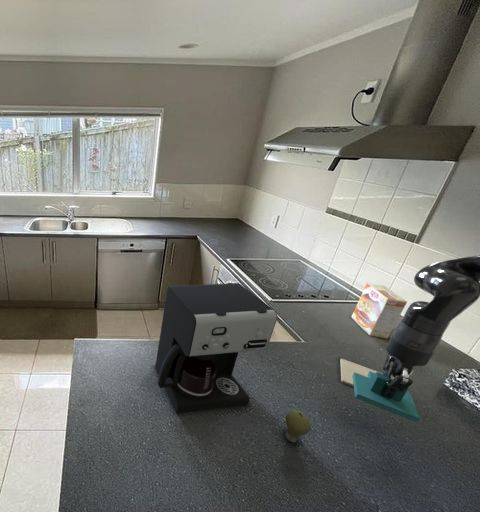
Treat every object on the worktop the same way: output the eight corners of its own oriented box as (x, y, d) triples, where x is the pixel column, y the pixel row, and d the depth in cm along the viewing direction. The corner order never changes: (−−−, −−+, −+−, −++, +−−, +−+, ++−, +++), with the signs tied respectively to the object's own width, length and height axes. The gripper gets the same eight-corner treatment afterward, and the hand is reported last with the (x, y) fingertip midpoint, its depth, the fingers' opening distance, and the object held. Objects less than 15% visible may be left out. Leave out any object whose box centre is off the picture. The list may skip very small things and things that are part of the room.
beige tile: (389, 379, 101) (390, 376, 100) (395, 405, 90) (397, 402, 90) (339, 361, 108) (341, 358, 108) (340, 383, 98) (342, 380, 98)
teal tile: (405, 388, 81) (415, 371, 78) (417, 422, 71) (429, 404, 68) (351, 368, 87) (359, 352, 85) (355, 397, 77) (364, 380, 75)
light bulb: (274, 434, 80) (284, 409, 76) (286, 427, 82) (297, 403, 78) (293, 453, 75) (305, 427, 71) (306, 445, 77) (318, 420, 73)
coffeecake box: (349, 317, 137) (366, 282, 130) (367, 320, 135) (384, 285, 128) (368, 336, 124) (387, 298, 116) (387, 339, 122) (408, 301, 114)
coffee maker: (164, 418, 83) (182, 320, 70) (143, 369, 101) (155, 283, 87) (248, 408, 87) (281, 314, 74) (215, 362, 105) (236, 280, 92)
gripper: (444, 364, 63) (410, 418, 70) (427, 333, 73) (398, 383, 80) (398, 349, 67) (369, 402, 74) (388, 323, 78) (363, 370, 84)
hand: (384, 392), depth 77 cm, fingers closed on teal tile, 2 cm apart
